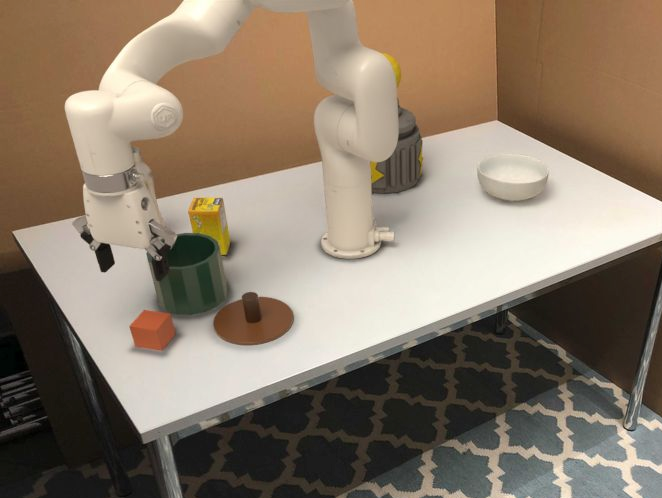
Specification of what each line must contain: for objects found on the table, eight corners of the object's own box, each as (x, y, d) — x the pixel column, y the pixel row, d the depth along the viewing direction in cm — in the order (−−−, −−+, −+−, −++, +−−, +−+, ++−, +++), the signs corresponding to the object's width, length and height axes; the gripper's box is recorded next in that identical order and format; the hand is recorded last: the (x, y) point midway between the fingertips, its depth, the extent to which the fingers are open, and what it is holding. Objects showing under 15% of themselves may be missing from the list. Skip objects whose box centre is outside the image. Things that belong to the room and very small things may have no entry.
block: (176, 336, 137) (170, 313, 134) (162, 353, 133) (156, 330, 130) (150, 332, 137) (144, 309, 134) (135, 349, 134) (129, 326, 130)
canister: (234, 280, 151) (225, 233, 145) (219, 317, 142) (210, 269, 135) (169, 278, 151) (158, 232, 144) (150, 316, 141) (137, 268, 134)
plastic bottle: (159, 249, 159) (137, 159, 147) (129, 244, 160) (104, 155, 147) (174, 234, 164) (154, 145, 152) (145, 230, 165) (123, 141, 152)
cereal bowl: (557, 191, 187) (561, 164, 183) (525, 218, 176) (527, 190, 171) (498, 172, 194) (500, 146, 189) (462, 197, 183) (464, 169, 178)
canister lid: (299, 302, 146) (295, 275, 142) (287, 348, 135) (283, 320, 131) (224, 300, 146) (218, 273, 142) (205, 347, 135) (199, 318, 131)
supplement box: (202, 243, 162) (193, 196, 155) (231, 243, 162) (223, 196, 155) (197, 258, 157) (187, 211, 150) (227, 258, 157) (218, 211, 151)
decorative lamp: (356, 158, 197) (350, 37, 178) (428, 165, 196) (429, 44, 177) (336, 191, 182) (327, 63, 164) (414, 199, 181) (414, 71, 162)
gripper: (176, 173, 118) (195, 268, 128) (73, 159, 120) (99, 253, 130) (151, 194, 112) (173, 292, 122) (43, 179, 114) (73, 276, 124)
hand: (135, 272), depth 126 cm, fingers open, 9 cm apart
